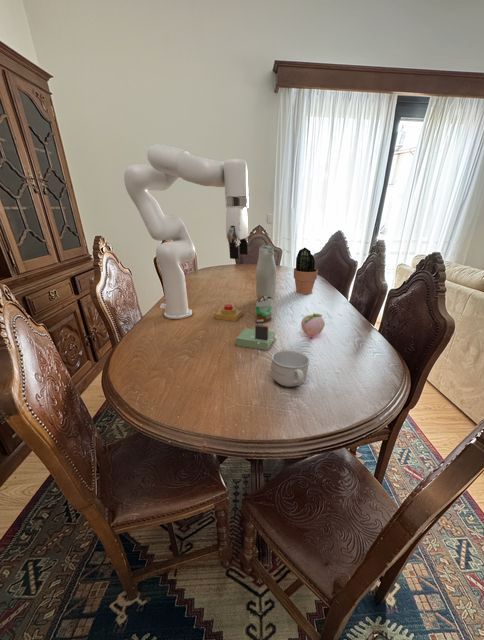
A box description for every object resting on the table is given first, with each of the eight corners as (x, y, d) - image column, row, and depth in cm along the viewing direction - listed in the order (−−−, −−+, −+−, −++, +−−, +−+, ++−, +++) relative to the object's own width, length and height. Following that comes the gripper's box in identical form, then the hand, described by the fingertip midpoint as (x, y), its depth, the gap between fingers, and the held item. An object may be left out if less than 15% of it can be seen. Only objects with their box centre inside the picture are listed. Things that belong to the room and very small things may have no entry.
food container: (269, 325, 122) (270, 303, 118) (255, 324, 123) (255, 302, 119) (274, 315, 133) (275, 294, 128) (261, 314, 134) (261, 293, 129)
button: (223, 310, 128) (222, 306, 127) (226, 307, 131) (226, 303, 130) (230, 311, 127) (230, 307, 126) (233, 308, 130) (233, 304, 129)
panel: (234, 347, 104) (234, 339, 102) (245, 334, 114) (245, 327, 112) (269, 353, 100) (270, 345, 99) (278, 339, 110) (278, 332, 109)
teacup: (268, 371, 89) (269, 349, 86) (303, 370, 90) (305, 348, 87) (274, 399, 77) (275, 374, 73) (313, 397, 78) (316, 372, 74)
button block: (214, 318, 129) (214, 310, 127) (222, 312, 135) (221, 304, 133) (235, 321, 126) (235, 312, 124) (242, 315, 133) (241, 306, 131)
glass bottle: (278, 299, 155) (280, 244, 141) (268, 304, 147) (270, 247, 134) (262, 296, 159) (263, 243, 146) (252, 300, 151) (252, 245, 138)
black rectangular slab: (255, 338, 103) (255, 325, 101) (256, 337, 105) (256, 323, 102) (267, 340, 102) (267, 326, 100) (268, 338, 104) (268, 325, 101)
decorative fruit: (309, 330, 119) (312, 307, 114) (326, 336, 114) (329, 312, 109) (295, 336, 113) (297, 312, 108) (312, 343, 108) (314, 318, 103)
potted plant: (317, 295, 161) (322, 249, 150) (293, 295, 161) (296, 249, 150) (313, 289, 173) (318, 245, 162) (291, 288, 173) (294, 245, 162)
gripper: (235, 203, 104) (238, 252, 112) (215, 203, 89) (220, 260, 97) (255, 203, 102) (256, 253, 110) (238, 203, 87) (241, 261, 95)
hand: (239, 256), depth 103 cm, fingers open, 9 cm apart
